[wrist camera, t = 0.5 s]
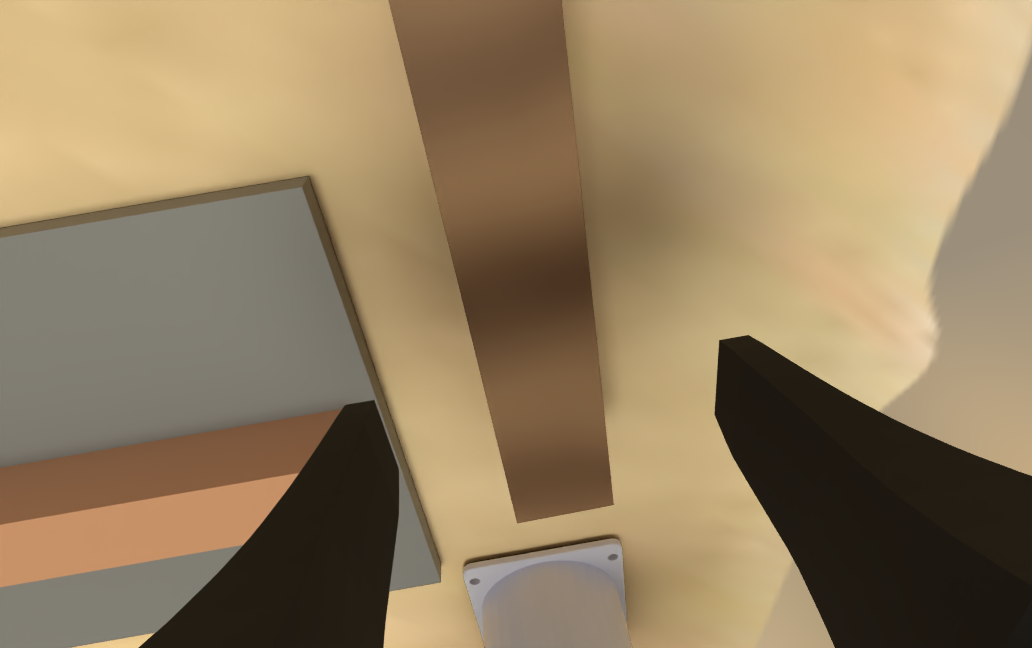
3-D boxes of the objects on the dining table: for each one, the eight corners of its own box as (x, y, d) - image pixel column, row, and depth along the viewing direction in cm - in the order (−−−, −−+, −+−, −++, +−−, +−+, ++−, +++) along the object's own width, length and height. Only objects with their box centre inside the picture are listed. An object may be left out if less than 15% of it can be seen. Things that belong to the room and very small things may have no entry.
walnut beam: (585, 412, 25) (613, 505, 21) (505, 427, 25) (517, 523, 21) (520, -99, 15) (549, -118, 11) (389, -74, 15) (368, -83, 11)
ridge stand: (441, 563, 29) (440, 644, 26) (1, 641, 29) (-57, 732, 26) (308, 175, 18) (277, 226, 15) (-397, 295, 18) (-589, 373, 15)
